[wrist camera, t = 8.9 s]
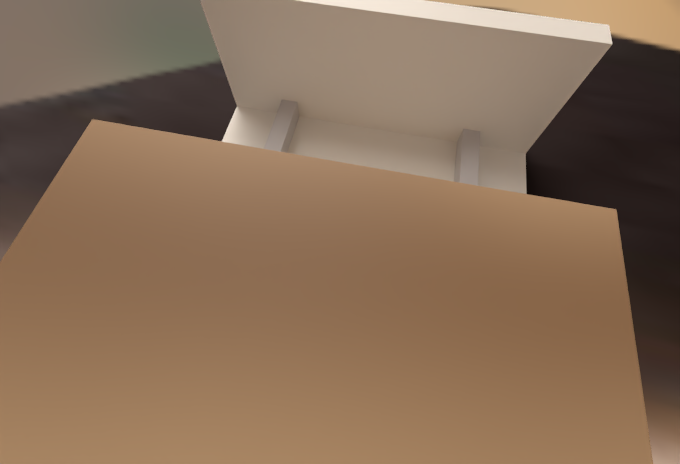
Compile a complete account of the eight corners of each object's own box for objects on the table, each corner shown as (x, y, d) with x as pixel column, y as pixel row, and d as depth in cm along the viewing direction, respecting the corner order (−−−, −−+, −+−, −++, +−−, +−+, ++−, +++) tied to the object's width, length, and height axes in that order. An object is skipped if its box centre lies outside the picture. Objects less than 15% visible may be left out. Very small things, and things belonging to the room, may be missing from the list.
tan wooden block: (400, 529, 11) (789, 1386, 2) (205, 479, 12) (-418, 900, 2) (420, 336, 14) (617, 208, 4) (258, 303, 14) (91, 117, 4)
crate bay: (526, 614, 11) (766, 897, 5) (78, 497, 12) (-185, 605, 6) (519, 145, 18) (608, 24, 12) (245, 100, 19) (204, -30, 13)
